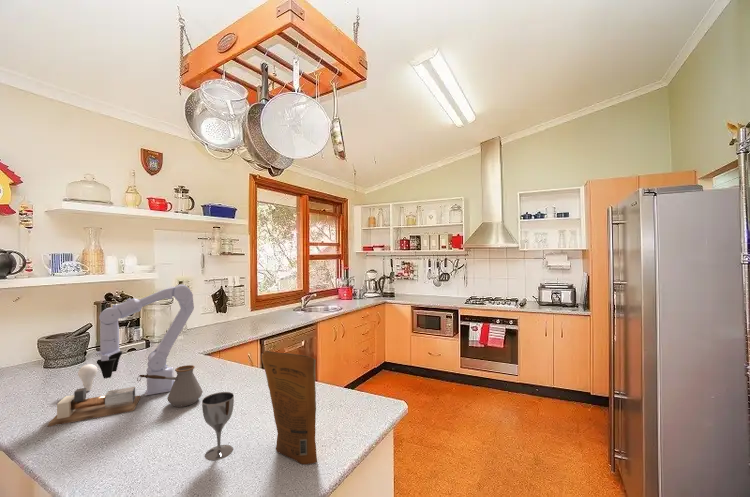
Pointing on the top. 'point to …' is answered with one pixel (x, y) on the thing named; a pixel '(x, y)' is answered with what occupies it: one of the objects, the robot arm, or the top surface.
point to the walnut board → (93, 413)
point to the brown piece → (85, 400)
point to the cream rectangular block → (65, 407)
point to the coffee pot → (182, 386)
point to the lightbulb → (87, 375)
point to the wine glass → (218, 420)
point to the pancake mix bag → (293, 403)
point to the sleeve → (120, 397)
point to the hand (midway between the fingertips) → (110, 374)
